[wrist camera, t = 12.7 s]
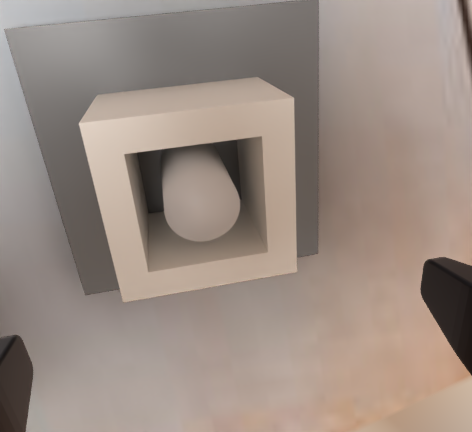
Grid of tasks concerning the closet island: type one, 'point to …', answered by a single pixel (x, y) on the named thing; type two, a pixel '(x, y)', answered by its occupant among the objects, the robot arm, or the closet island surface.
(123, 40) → the post stand
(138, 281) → the collar
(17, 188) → the closet island surface
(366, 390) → the closet island surface
